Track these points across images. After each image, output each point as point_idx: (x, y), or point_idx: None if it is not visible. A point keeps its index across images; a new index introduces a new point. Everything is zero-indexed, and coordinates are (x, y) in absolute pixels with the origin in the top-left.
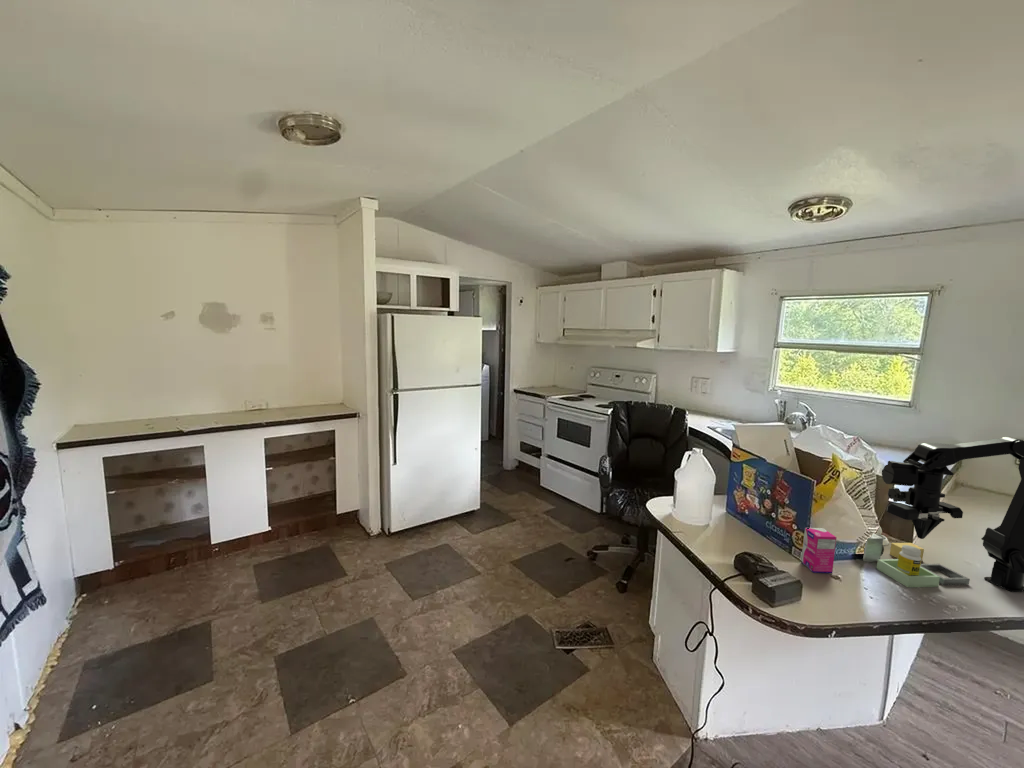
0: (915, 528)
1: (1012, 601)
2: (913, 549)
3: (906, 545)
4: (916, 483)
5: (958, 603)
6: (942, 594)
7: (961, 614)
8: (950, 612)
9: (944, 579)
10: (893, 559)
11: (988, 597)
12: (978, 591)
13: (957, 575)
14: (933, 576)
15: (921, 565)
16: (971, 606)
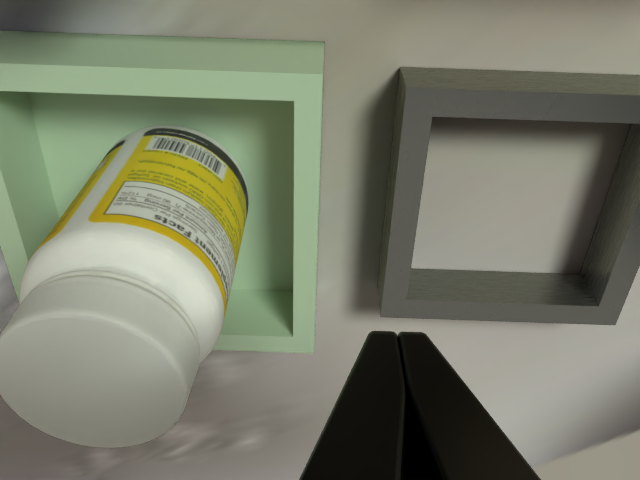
0: (307, 472)
1: (624, 427)
2: (88, 409)
3: (82, 328)
4: None
5: (253, 420)
6: (249, 357)
7: (164, 475)
8: (119, 462)
9: (385, 316)
10: (142, 74)
11: (528, 395)
12: (554, 349)
13: (610, 259)
14: (263, 344)
15: (450, 116)
16: (300, 440)
